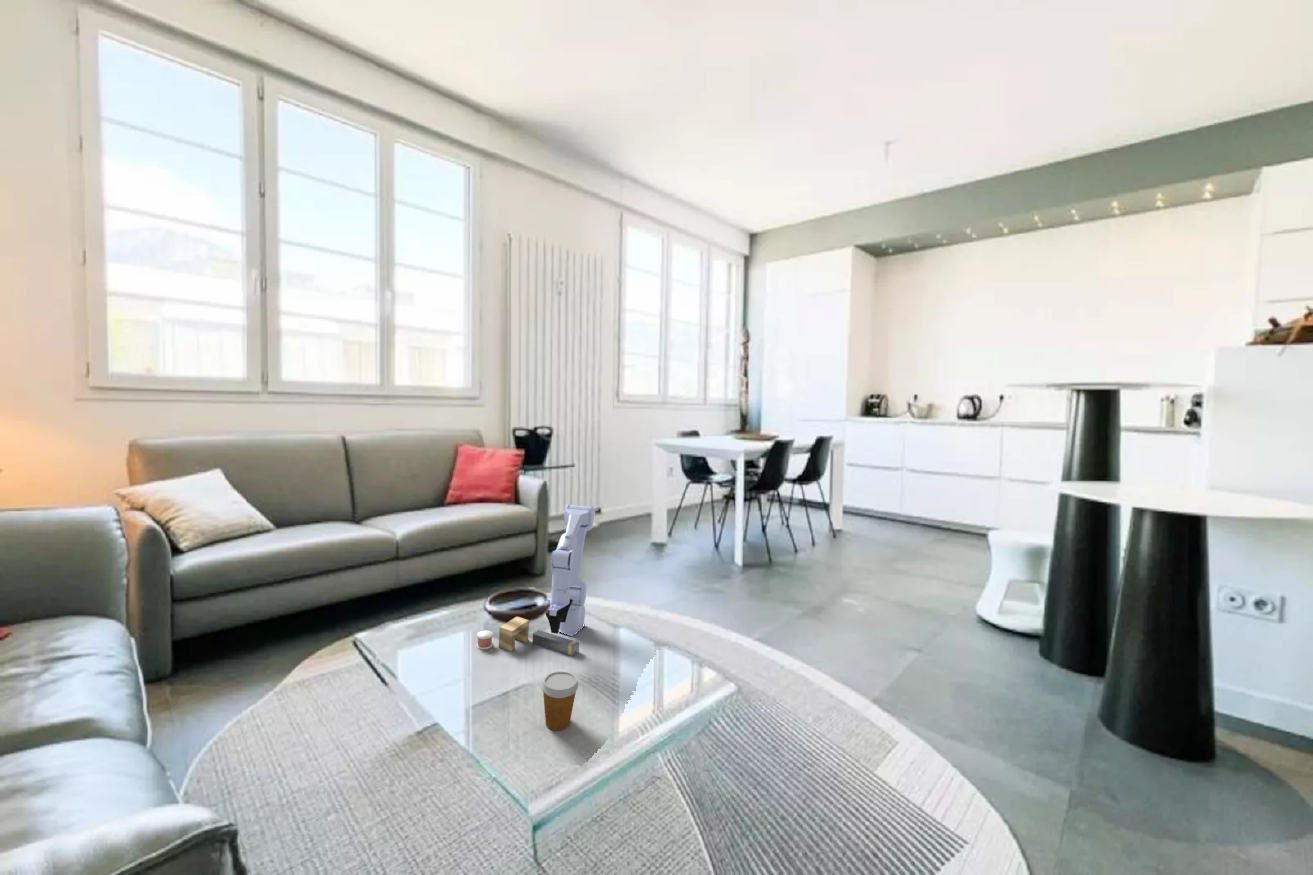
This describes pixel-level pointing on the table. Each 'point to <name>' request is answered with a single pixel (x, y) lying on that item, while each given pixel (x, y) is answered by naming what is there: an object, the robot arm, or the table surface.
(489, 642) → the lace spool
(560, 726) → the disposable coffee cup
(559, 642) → the dark grey bar
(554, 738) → the table surface
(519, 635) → the wooden u-shaped cradle
